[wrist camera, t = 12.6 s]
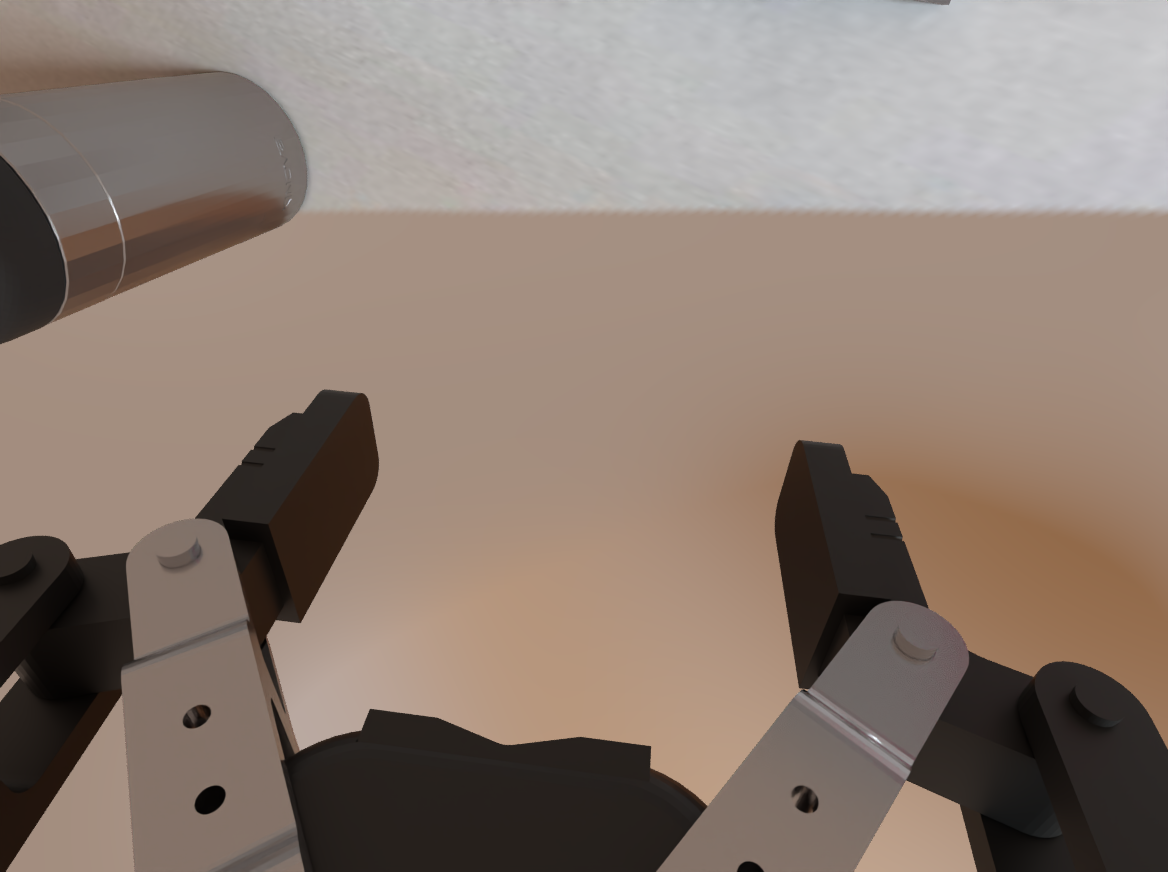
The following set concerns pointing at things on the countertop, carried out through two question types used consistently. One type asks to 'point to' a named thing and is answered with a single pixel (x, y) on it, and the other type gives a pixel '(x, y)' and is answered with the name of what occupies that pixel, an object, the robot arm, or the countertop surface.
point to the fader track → (937, 1)
